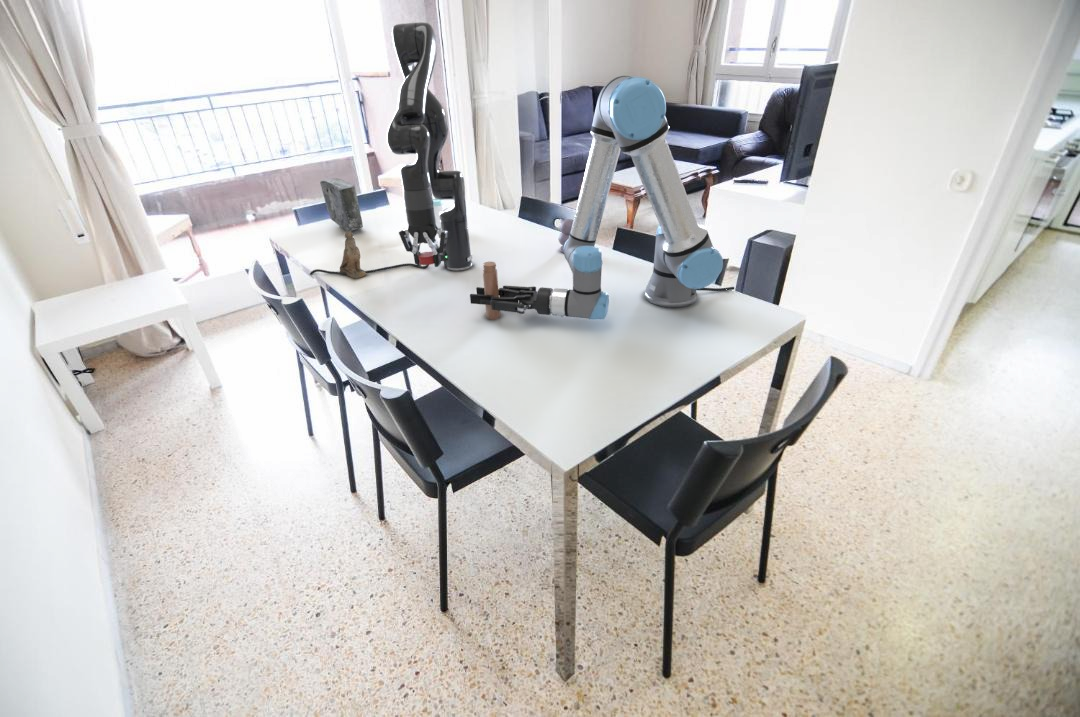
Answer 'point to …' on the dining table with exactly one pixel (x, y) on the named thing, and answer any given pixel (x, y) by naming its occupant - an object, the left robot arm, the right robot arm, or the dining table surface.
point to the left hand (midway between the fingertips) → (428, 265)
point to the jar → (491, 287)
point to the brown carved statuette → (351, 258)
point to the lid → (426, 258)
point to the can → (438, 211)
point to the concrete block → (342, 203)
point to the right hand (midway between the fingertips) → (474, 295)
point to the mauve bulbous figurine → (565, 231)
